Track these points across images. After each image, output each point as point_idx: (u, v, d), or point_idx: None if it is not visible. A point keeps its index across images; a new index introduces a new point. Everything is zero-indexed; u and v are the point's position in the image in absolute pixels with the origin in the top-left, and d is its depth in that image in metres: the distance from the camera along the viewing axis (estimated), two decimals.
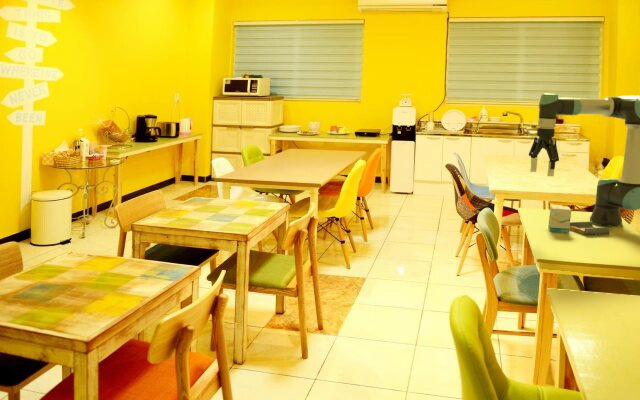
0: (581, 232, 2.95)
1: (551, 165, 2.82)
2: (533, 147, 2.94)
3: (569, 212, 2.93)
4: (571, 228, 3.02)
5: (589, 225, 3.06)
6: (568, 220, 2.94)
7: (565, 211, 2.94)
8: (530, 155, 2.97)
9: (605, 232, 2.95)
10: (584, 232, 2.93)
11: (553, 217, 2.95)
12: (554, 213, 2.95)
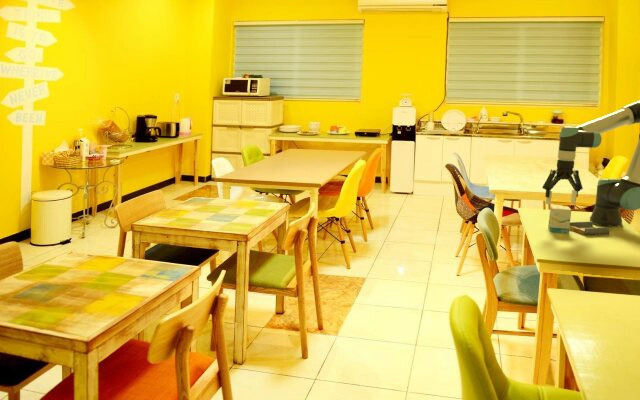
0: (581, 232, 2.95)
1: None
2: (575, 179, 2.98)
3: (569, 212, 2.93)
4: (571, 228, 3.02)
5: (589, 225, 3.06)
6: (568, 220, 2.94)
7: (565, 211, 2.94)
8: None
9: (605, 232, 2.95)
10: (584, 232, 2.93)
11: (553, 217, 2.95)
12: (554, 213, 2.95)
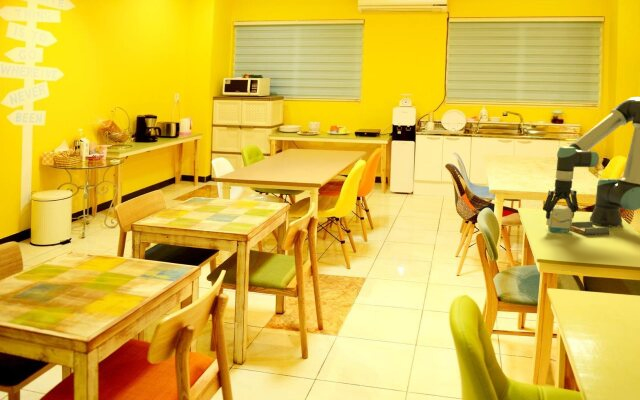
0: (581, 232, 2.95)
1: None
2: (572, 200, 3.00)
3: (569, 212, 2.93)
4: (571, 228, 3.02)
5: (589, 225, 3.06)
6: (568, 220, 2.94)
7: (565, 211, 2.94)
8: None
9: (605, 232, 2.95)
10: (584, 232, 2.93)
11: (553, 217, 2.95)
12: (554, 213, 2.95)
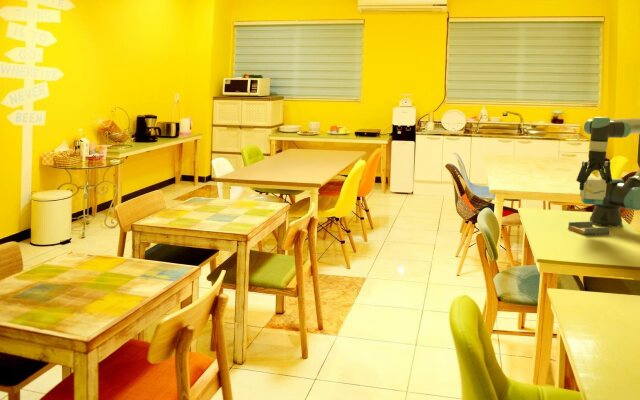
0: (581, 232, 2.95)
1: None
2: (605, 171, 2.97)
3: (603, 183, 2.91)
4: (571, 228, 3.02)
5: (589, 225, 3.06)
6: (602, 191, 2.91)
7: (599, 182, 2.91)
8: None
9: (605, 232, 2.95)
10: (584, 232, 2.93)
11: (587, 188, 2.93)
12: (588, 184, 2.92)
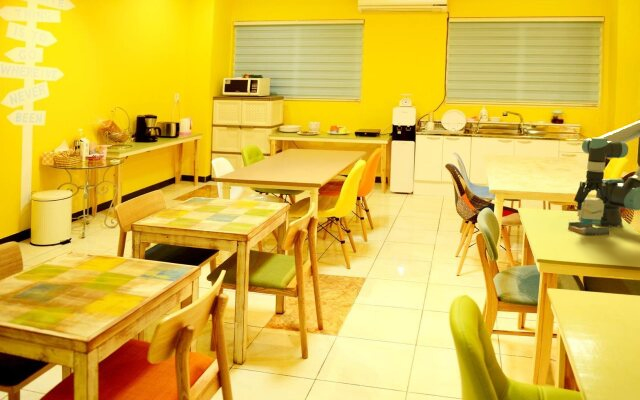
0: (581, 232, 2.95)
1: None
2: (603, 191, 2.99)
3: (601, 203, 2.93)
4: (571, 228, 3.02)
5: (589, 225, 3.06)
6: (600, 211, 2.93)
7: (597, 202, 2.93)
8: None
9: (605, 232, 2.95)
10: (584, 232, 2.93)
11: (584, 208, 2.94)
12: (586, 204, 2.94)
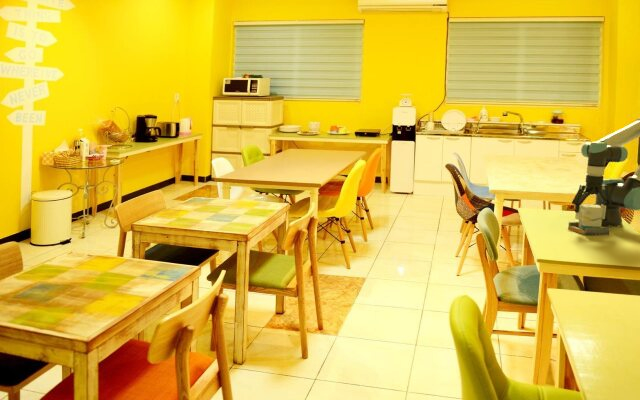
0: (581, 232, 2.95)
1: None
2: (603, 194, 2.99)
3: (601, 210, 2.93)
4: (571, 228, 3.02)
5: None
6: (600, 218, 2.94)
7: (597, 209, 2.94)
8: None
9: (605, 232, 2.95)
10: (584, 232, 2.93)
11: (585, 215, 2.95)
12: (586, 211, 2.95)
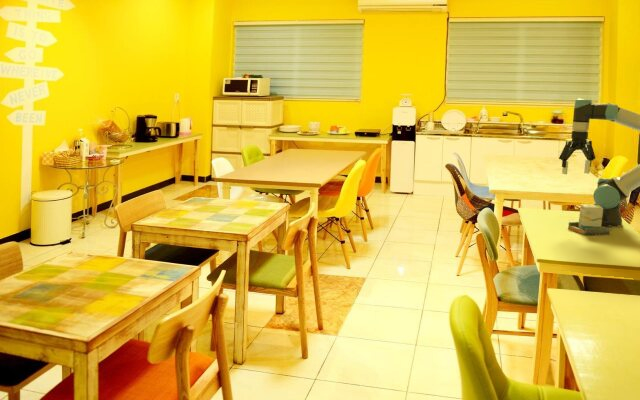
0: (581, 232, 2.95)
1: None
2: (588, 150, 3.12)
3: (601, 210, 2.93)
4: (571, 228, 3.02)
5: None
6: (600, 218, 2.94)
7: (597, 209, 2.94)
8: None
9: (605, 232, 2.95)
10: (584, 232, 2.93)
11: (585, 215, 2.95)
12: (586, 211, 2.95)
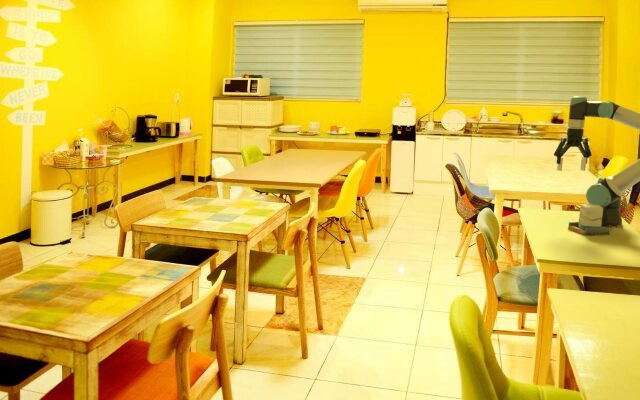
0: (581, 232, 2.95)
1: None
2: (584, 147, 3.15)
3: (601, 210, 2.93)
4: (571, 228, 3.02)
5: None
6: (600, 218, 2.94)
7: (597, 209, 2.94)
8: None
9: (605, 232, 2.95)
10: (584, 232, 2.93)
11: (585, 215, 2.95)
12: (586, 211, 2.95)
